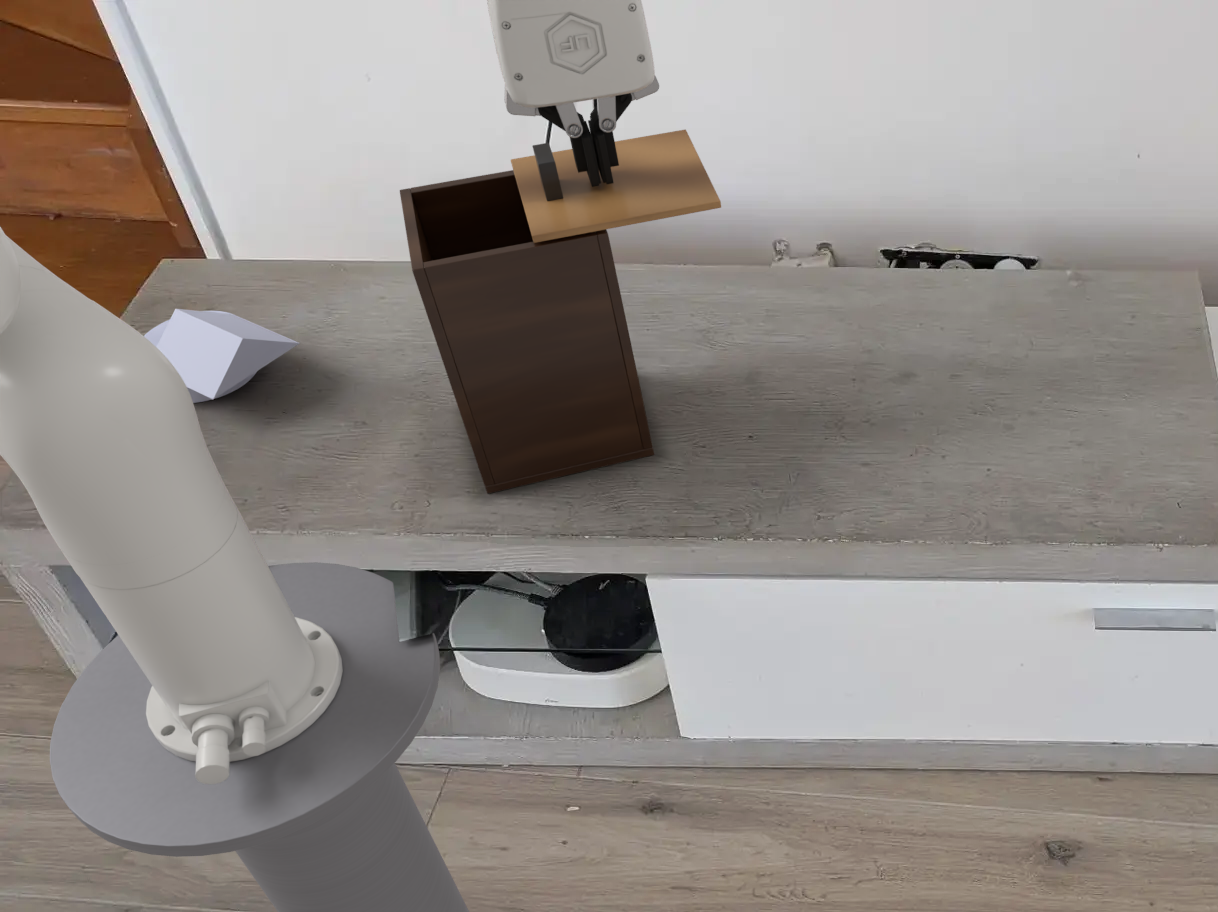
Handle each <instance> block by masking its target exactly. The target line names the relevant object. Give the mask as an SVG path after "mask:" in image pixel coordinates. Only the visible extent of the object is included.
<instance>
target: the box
mask: <svg viewBox="0 0 1218 912" xmlns="http://www.w3.org/2000/svg"><path fill="white" fill-rule="evenodd" d="M399 196H400V197H399V198H400V203H401V208H402V216H403V220H404V227H405V234H406V240H407V241H406V242H407V246H408V252H409V259H410V265H411V271H412V274H413V277H414V280H415V283H416V287H417V289H418V292H419V296H420V298H421V301H422V304H423V307H424V310H425V313H426V316H427V319H428V322H429V324H430V328H431V331H432V334H433V337H434V340H435V343H436V345H437V349H438V352H439V354H440V358H441V360H442V363H443V366H444V369H445V372H446V376H447V379H448V381H449V384H450V388H451V390H452V393H453V396H454V399H455V403H456V405H457V408H458V411H459V414H460V417H461V420H462V423H463V426H464V429H465V432H466V434H467V438H468V441H469V443H470V447H471V450H472V452H473V456H474V459H475V462H476V464H477V467H478V472H479V473H480V476H481V479H482V482H483V486H484V488H485V491H486V494H493V493H498V492H501V491H505V490H509V489H513V488H518V487H523V486H527V485H531V484H535V483H541V482H543V481H548V480H552V479H558V478H561V477H566V476H570V475H574V474H578V473H582V472H587V471H591V470H595V469H600V468H604V467H608V466H613V465H617V464H622V463H625V462H629V461H634V460H637V459H642V458H647V457H651V456H655V450H654V447H653V441H652V437H651V432H650V429H649V428H650V427H649V422H648V417H647V414H646V413H647V412H646V408H645V403H644V398H643V394H642V389H641V388H642V387H641V385H640V379H639V374H638V370H637V365H636V361H635V355H634V350H633V346H632V341H631V338H630V333H629V332H630V331H629V327H628V322H627V317H626V313H625V312H626V311H625V308H624V303H623V298H622V293H621V288H620V284H619V280H618V275H617V269H616V265H615V260H614V256H613V250H612V247H611V242H610V236H609V233H608V229H605V230H600V231H595V232H589V233H584V234H579V235H573V236H568V237H563V238H558V239H552V240H547V241H542V242H536V243H534V242H533V239H532V235H531V232H530V228H529V224H528V221H527V217H526V214H525V210H524V207H523V203H522V200H521V196H520V193H519V189H518V185H517V182H516V178H515V175H514V171H513V169H511V170H505V171H500V172H494V173H488V174H483V175H477V176H471V177H465V178H460V179H454V180H448V181H441V182H437V183H430V184H425V185H419V186H414V187H409V188H402V189H399Z"/></svg>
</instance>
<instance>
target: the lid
mask: <svg viewBox="0 0 1218 912" xmlns="http://www.w3.org/2000/svg"><path fill="white" fill-rule="evenodd" d="M614 141H615V140H614ZM615 146H616V152H617V157H618V162H619V166H614V167H611V172H612V177H613V182H614V183H612V184H606V183H603V180H602V178H601V175H600V179H601V184H599V186H595V187H592V185H591V182H590V180H589V177H588V174H587V171H585V172H579V173H578V170H577V167H576V163H575V159H574V155H573V150H572V148H569V149H563V150H557V151H552V147H551V145H550V142H545V143H540V144H539V143H538V144H533V145H532V150H533V155H529V156H528V155H527V156H523V157H517V158H511V159H510V164H511V167H512V170H513V171H514V175H515V178H516V182H517V185H518V189H519V193H520V196H521V200H522V203H523V207H524V210H525V214H526V217H527V221H528V224H529V228H530V232H531V235H532V239H533V242H534V243H536V242H542V241H547V240H552V239H558V238H563V237H568V236H573V235H579V234H584V233H589V232H595V231H600V230H605V229H607V230H611V229H616V228H621V227H626V226H627V227H628V226H631V225H637V224H641V223H648V222H653V221H658V220H664V219H669V218H674V217H679V216H684V215H689V214H696V213H700V212H706V211H711V210H716V209H721V208H722V202H721V199H720V197H719V195H718V193H717V191H716V189H715V187H714V184H713V182H712V181H711V178H710V176H709V174H708V172H707V170H706V168H705V166H704V164H703V162H702V160H701V158H700V155H699V154H698V151H697V149H696V147H695V146H694V144H693V142H692V139H691V137H690V135H689V133H688V131H687V129H681V130H675V131H674V130H673V131H668V132H663V133H656V134H651V135H643V136H640V137H634V138H627V139H622V140H616V141H615ZM599 174H600V172H599Z"/></svg>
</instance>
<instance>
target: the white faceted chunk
mask: <svg viewBox="0 0 1218 912" xmlns="http://www.w3.org/2000/svg"><path fill="white" fill-rule="evenodd" d="M143 336H144V337H145V338H146V339H148V340H149V341H150V342H151V343H152V344H153V345H154V346H155V347H157V348H158V349H159V350H160V351H161V352H162V353H163V354H164V356H165V357H166V358H167V359H168V360H169V361H170V362H171V364H172V365H173V366H174V367H175V369H176V370H177V372H178V373H179V375H180V376H181V378H182V379H183V381H184V383H185V385H186V387H187V389H188V391H189V393H190V396H191V398H192V401H193V404H196V403H202V402H208V401H212V400H214V399H218V398H221V397H224V396H227V395H230V394H231V393H233V392H235V391H236V390H237V391H238V389H240V388H241V387H243V386H244V385H246V384H247V383H248V382H249V381H251V380H252V379H253V378H254V377H255V375H256V374H257V373H258V371H259V370H261V369H263V368H264V367H266V366H267V365H269V364H270V363H272V362H273V361H275V360H276V359H278V358H280V357H281V356H283V355H285V354H286V353H287V352H289V351H291V350H292V349H293V348H295V347H297V346H299V344H300V342H298V341H296V340H294V339H291V338H289V337H287V336H285V335H282V334H280V333H278V332H275V331H273V330H271V329H268V328H266V327H264V326H262V325H260V324H257V323H255V322H253V321H250V320H248V319H245V318H244V317H241V316H238V315H237V314H234V313H231V312H229V311H228V312H227V311H222V310H192V309H182V308H175V309H174V310H173V313H172V315H171V317H170V318H169V319H167V320H164V321H163V322H161V323H159V324H157V325H156V326H154V327H153V328H151V329H150V330H148V331H147V332H146V333H145V334H144V335H143Z"/></svg>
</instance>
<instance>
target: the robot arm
mask: <svg viewBox="0 0 1218 912" xmlns="http://www.w3.org/2000/svg"><path fill="white" fill-rule="evenodd" d="M486 2H487V10H488V17H489V21H490V27H491V32H492V36H493V41H494V47H495V52H496V55H497V60H498V65H499V69H500V72H501V75H502V79H503V82H504V105H505V107H506V111H507V112H508V113H509V114H510V115H513V116H524V117H537V116H539V117H542V118H543V119H545V120H546V121H548V122H550V123H551V124H553V125H554V126H556V127H558V128H559V129H561V130H562V131H564V132H565V133H566V135H567V136H568V137H569V141H570V145H571V149H572V150H573V155H574V159H575V163H576V167H577V170H578V173H579V172H585V171H587V174H588V177H589V180H590V182H591V185H592V187H595V186H599V184H601V179H600V175H601V178H602V180H603V183H606V184H612V183H614V182H613V177H612V172H611V167H614V166H619V162H618V157H617V152H616V146H615V137H614V132H613V131H615V129H616V128H617V122H618V121H619V119H620V118H621V116H622V115H623V114H624V112H626V110H627V109H628V107H629V106H630V105H631V103H632V102H634V101H638V100H641V99H643V98H645V97H648V96H650V95H652V94H655V93H657V92H658V91H659V90H660V83H659V80H658V78H657V76H656V74H655V73H656V69H655V61H654V57H653V56H654V55H653V50H652V45H651V39H650V34H649V31H648V30H649V29H648V25H647V20H646V15H645V11H644V6H643V3H642V0H486ZM586 101H591V102H592V111H591V112H590V113H589V115H590V116H589V120H585V119H584V116H583V114H581V113H579V112H578V111H577V109H576V106H575V103H579V102H586ZM599 172H600V174H599ZM0 457H2V459H3V460H4V461H5V462H6V463H7V464H8V466H9V467H10V469H11V470H12V471H13V473H14V474H15V475H16V476H17V478H18V479H19V480H20V481H21V483H22V484H23V486H24V488H25V489H26V491H27V493H28V495H29V496H30V499H31V500H32V502H33V504H34V506H35V509H36V510H37V512H38V515H39V516H40V518H41V520H42V522H43V524H44V525H45V527H46V529H47V530H48V531H47V532H49V534H50V535H51V538H52V539H53V540H54V542H55V543H56V545H57V547H58V549H59V550H60V551H61V553H62V554H63V556H64V557H65V559H66V560H67V562H68V563H69V565H70V567H71V568H72V569H73V571H74V572H75V574H76V575H77V576H78V577H79V579H80V580H81V582H82V583H83V585H84V586H85V587H86V589H87V591H88V592H89V593H90V595H91V596H92V598H93V599H94V601H95V603H96V604H97V606H98V607H99V608H100V610H101V612H102V613H103V614H104V616H105V617H106V619H107V621H109V623H110V624H111V626H112V628H113V629H114V631H115V632H116V634H117V636H118V635H119V636H120V638H121V639H122V641H123V642H124V644H125V645H126V647H127V648H128V650H129V651H130V653H131V654H132V656H133V657H134V659H135V660H136V662H137V663H138V665H139V666H140V668H141V669H142V671H143V672H144V674H145V675H146V677H147V678H148V680H149V681H150V683H151V684H152V687H151V690H150V693H149V696H148V699H147V706H146V716H147V721H148V725H149V727H150V729H151V731H152V732H153V734H154V735H155V737H156V739H157V740H158V741H159V742H160V743H161V745H162V746H163V747H164V748H165V749H167V750H168V751H170V752H171V753H173V754H174V755H176V756H178V757H181V758H184V759H187V760H190V761H196V773H195V777H196V779H197V780H198V781H199V782H201V783H204V784H217V783H221V782H223V781H225V780H226V779H227V778H228V776H229V765H230V762H232V761H238V760H244V759H247V758H250V757H254V756H259V755H261V754H263V753H265V752H268V751H270V750H272V749H274V748H277V747H279V746H281V745H283V744H284V743H286V742H288V741H289V740H291V739H293V738H294V737H296V736H298V735H299V734H300V733H302V732H303V731H304V730H305V729H307V728H308V727H309V726H310V725H312V724H313V723H314V722H315V721H316V720H317V719H318V718H319V717H320V716H321V714H322V713H323V712H324V711H325V710H326V709H327V707H328V706H329V704H330V703H331V701H332V700H333V698H334V697H335V694H336V692H337V690H338V688H339V685H340V682H341V677H342V672H343V670H342V658H341V656H340V653H339V650H338V648H337V646H336V645H335V643H334V641H333V639H332V637H331V636H330V635H329V634H328V633H327V632H326V631H325V630H324V629H323V628H321V627H320V626H318V625H316V624H314V623H313V622H310V621H307V620H304V619H301V618H298V617H294V615H293V613H292V611H291V609H290V607H289V605H288V604H287V602H286V600H285V598H284V596H283V594H282V592H281V590H280V588H279V586H278V584H277V582H276V581H275V579H274V577H273V575H272V573H271V571H270V569H269V567H268V566H269V565H268V564H267V561H266V559H265V557H264V555H263V553H262V552H261V550H260V548H259V546H258V544H257V542H256V541H255V539H254V537H253V535H252V532H251V531H250V529H249V527H248V525H247V523H246V521H245V519H244V517H243V515H242V514H241V512H240V509H239V508H238V506H237V504H236V502H235V501H234V499H233V498H232V495H231V493H230V491H229V490H228V487H227V485H226V484H225V482H224V480H223V478H222V475H221V474H220V472H219V470H218V467H217V465H216V464H215V461H214V459H213V457H212V455H211V453H210V450H209V449H208V446H207V443H206V440H205V437H204V435H203V431H202V428H201V425H200V421H199V417H198V413H197V410H196V407H195V403H193V401H192V398H191V396H190V393H189V391H188V389H187V387H186V385H185V383H184V381H183V379H182V378H181V376H180V375H179V373H178V372H177V370H176V369H175V367H174V366H173V365H172V364H171V362H170V361H169V360H168V359H167V358H166V357H165V356H164V354H163V353H162V352H161V351H160V350H159V349H158V348H157V347H155V346H154V345H153V344H152V343H151V342H150V341H149V340H148V339H146V338H145V337H144V335H143V334H142V333H141V332H139V331H138V330H137V329H135V328H134V327H133V326H131V325H130V324H129V323H128V322H125V321H124V320H123V319H121V318H120V317H118V316H116V315H115V314H113V312H111V311H110V310H108V309H106V308H105V307H104V306H102V305H101V304H99V303H97V302H96V301H94V300H93V299H91V298H89V297H87V296H86V295H85V294H84V293H82V292H81V291H79V290H77V289H76V288H74V287H73V286H72V285H70V284H69V283H68V282H66V281H64V280H63V279H62V278H60V277H59V276H57V275H56V274H55V273H53V272H52V271H51V270H50V269H48V268H47V267H45V266H44V265H43V264H42V263H40V262H39V261H38V260H36V259H35V258H34V257H33V256H32V255H30V254H29V253H28V252H27V251H25V250H24V249H23V248H22V247H21V246H20V245H18V244H17V243H16V242H14V240H12V238H10V237H9V236H7V234H6V233H5V231H4V230H3V228H2V227H1V226H0Z"/></svg>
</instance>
